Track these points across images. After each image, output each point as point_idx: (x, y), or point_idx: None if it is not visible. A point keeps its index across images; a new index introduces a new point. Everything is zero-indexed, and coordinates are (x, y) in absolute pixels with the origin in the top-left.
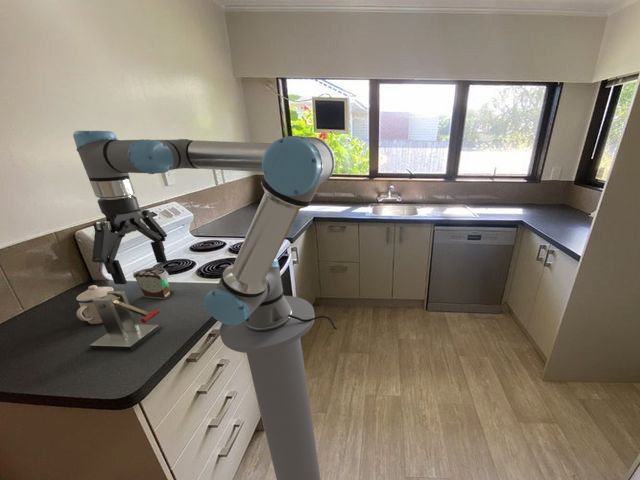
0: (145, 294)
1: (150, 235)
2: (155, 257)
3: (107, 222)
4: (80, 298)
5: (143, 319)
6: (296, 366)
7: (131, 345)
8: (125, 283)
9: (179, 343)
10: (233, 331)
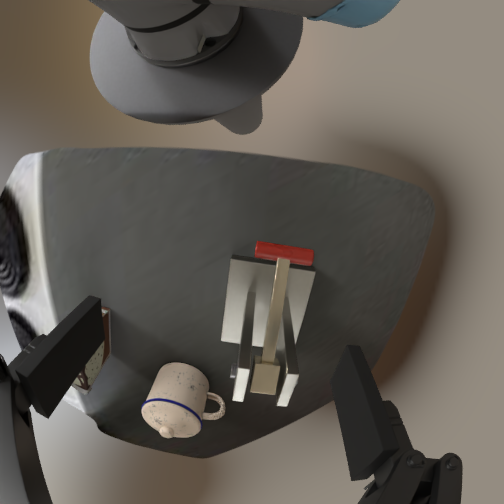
0: (107, 352)
1: (23, 452)
2: (91, 356)
3: None
4: (195, 431)
5: (313, 257)
6: None
7: (312, 271)
8: (354, 346)
9: (302, 169)
10: (233, 76)
